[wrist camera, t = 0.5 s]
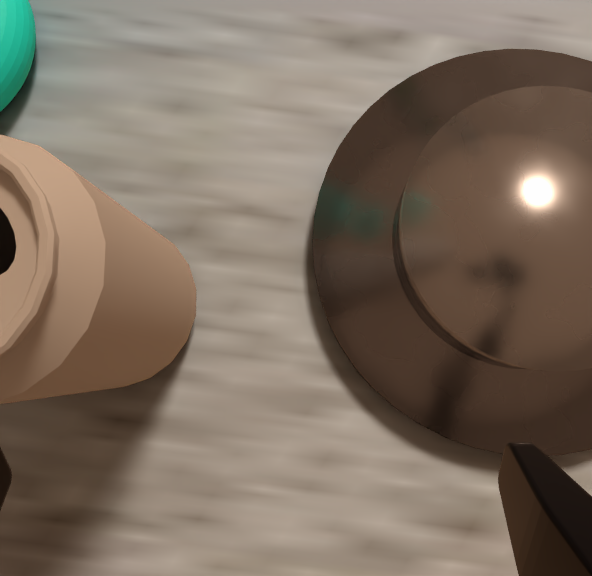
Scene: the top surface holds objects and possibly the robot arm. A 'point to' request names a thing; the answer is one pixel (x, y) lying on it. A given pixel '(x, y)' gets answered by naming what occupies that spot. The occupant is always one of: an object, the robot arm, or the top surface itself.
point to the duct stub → (469, 249)
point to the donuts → (15, 47)
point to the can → (81, 284)
